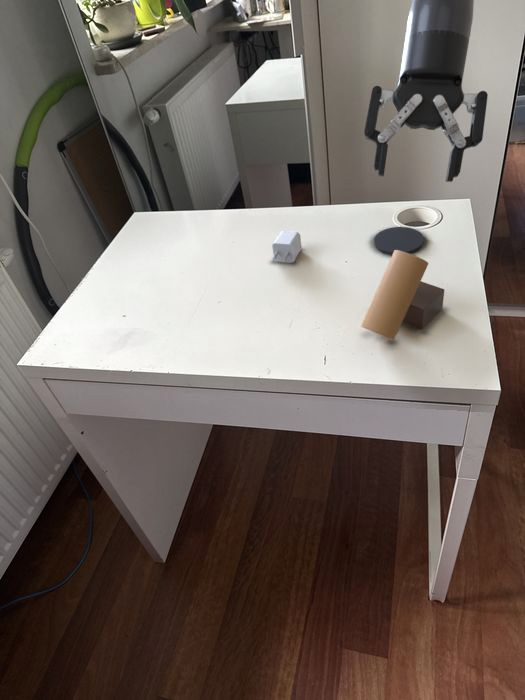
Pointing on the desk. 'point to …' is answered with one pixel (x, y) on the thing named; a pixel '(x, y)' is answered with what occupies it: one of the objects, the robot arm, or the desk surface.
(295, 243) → the usb wall charger
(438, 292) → the walnut block
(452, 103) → the robot arm
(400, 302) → the tan cylinder
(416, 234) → the coaster
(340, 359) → the desk surface
